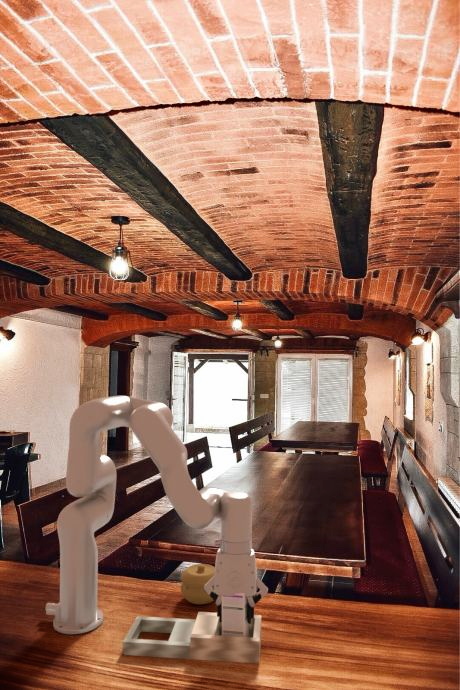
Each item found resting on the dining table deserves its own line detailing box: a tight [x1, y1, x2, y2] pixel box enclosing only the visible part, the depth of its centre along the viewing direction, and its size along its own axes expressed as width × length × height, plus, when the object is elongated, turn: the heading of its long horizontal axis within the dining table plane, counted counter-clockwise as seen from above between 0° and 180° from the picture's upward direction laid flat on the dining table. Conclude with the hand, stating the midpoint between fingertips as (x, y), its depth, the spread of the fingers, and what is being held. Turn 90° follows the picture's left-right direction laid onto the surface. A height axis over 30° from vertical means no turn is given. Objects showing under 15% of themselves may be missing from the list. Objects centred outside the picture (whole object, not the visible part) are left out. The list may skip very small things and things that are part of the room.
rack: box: [122, 611, 262, 665], centre depth 125 cm, size 32×12×5 cm, turn 84°
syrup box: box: [222, 593, 249, 637], centre depth 125 cm, size 6×6×14 cm
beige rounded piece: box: [180, 563, 215, 605], centre depth 149 cm, size 12×12×10 cm
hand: (235, 619), depth 125 cm, fingers closed on syrup box, 6 cm apart
